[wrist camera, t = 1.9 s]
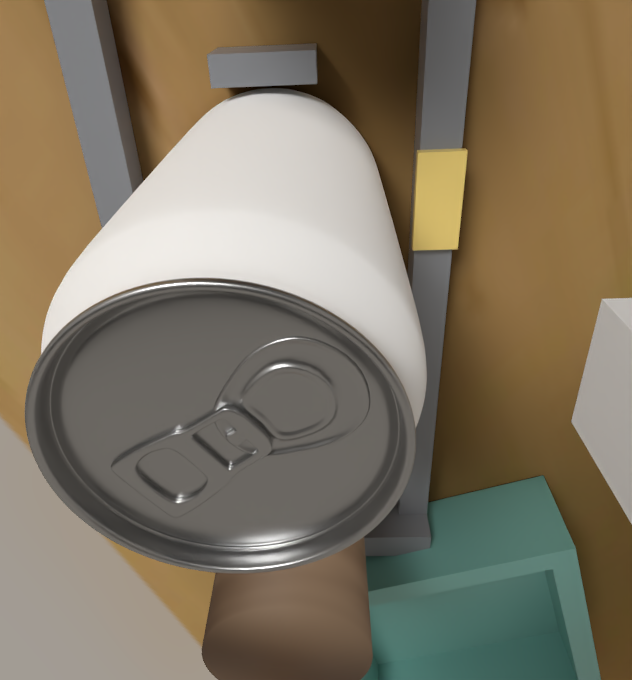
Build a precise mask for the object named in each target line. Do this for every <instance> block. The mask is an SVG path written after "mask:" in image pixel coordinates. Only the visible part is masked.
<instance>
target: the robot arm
mask: <svg viewBox="0 0 632 680" xmlns="http://www.w3.org/2000/svg"><path fill="white" fill-rule="evenodd" d="M571 422H572V424H573V426H574V427H575V429H576V431H577V432H578V434H579V436H580V437H581V439H582V441H583V443H584V444H585V446H586V448H587V449H588V451H589V453H590V454H591V456H592V458H593V460H594V461H595V463H596V465H597V466H598V468H599V470H600V471H601V473H602V475H603V476H604V478H605V480H606V482H607V483H608V485H609V487H610V488H611V490H612V492H613V493H614V495H615V497H616V499H617V500H618V502H619V504H620V505H621V507H622V509H623V510H624V512H625V514H626V516H627V517H628V519H629V521H630V522H631V524H632V298H615V299H602V301H601V305H600V309H599V313H598V317H597V321H596V325H595V329H594V333H593V337H592V341H591V345H590V349H589V353H588V357H587V361H586V365H585V369H584V373H583V377H582V381H581V385H580V389H579V393H578V397H577V401H576V405H575V409H574V413H573V417H572V421H571Z"/></svg>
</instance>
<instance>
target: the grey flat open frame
mask: <svg viewBox="0 0 632 680" xmlns="http://www.w3.org/2000/svg"><path fill="white" fill-rule="evenodd" d="M44 1H45V5H46V9H47V13H48V17H49V21H50V25H51V29H52V33H53V37H54V41H55V45H56V49H57V53H58V57H59V61H60V64H61V68H62V72H63V76H64V80H65V84H66V88H67V92H68V96H69V100H70V104H71V108H72V112H73V116H74V120H75V124H76V127H77V131H78V135H79V139H80V143H81V147H82V151H83V155H84V159H85V163H86V167H87V171H88V175H89V179H90V183H91V187H92V191H93V194H94V198H95V202H96V206H97V210H98V214H99V218H100V222H101V226H102V228H103V227H104V226H105V225H106V224H107V222H108V221H109V220H110V219H111V218H112V217H113V216H114V214H115V213H116V212H117V211H118V210H119V209H120V208H121V206H122V205H123V204H124V203H125V202H126V201H127V200H128V198H129V197H130V196H131V195H132V194H133V193H134V192H135V190H136V189H137V188H138V187H139V186H140V185H141V184H142V183H143V177H142V172H141V167H140V163H139V158H138V153H137V148H136V143H135V138H134V133H133V128H132V123H131V118H130V113H129V108H128V104H127V99H126V94H125V89H124V84H123V79H122V74H121V69H120V64H119V59H118V54H117V49H116V44H115V40H114V35H113V30H112V25H111V20H110V15H109V10H108V5H107V0H44ZM475 8H476V0H422V6H421V26H420V45H419V64H418V83H417V102H416V122H415V141H414V160H413V179H412V198H411V218H410V237H409V256H408V275H407V276H408V279H409V283H410V287H411V290H412V294H413V298H414V302H415V306H416V310H417V314H418V318H419V322H420V327H421V331H422V336H423V341H424V346H425V354H426V366H427V384H426V393H425V399H424V404H423V408H422V412H421V415H420V418H419V421H418V424H417V426H416V452H415V459H414V464H413V468H412V472H411V475H410V478H409V481H408V483H407V485H406V487H405V490H404V492H403V493H402V495H401V497H400V499H399V500H398V502H397V503H396V505H395V506H394V507H393V509H392V510H391V511H390V513H389V514H388V515H387V516H386V517H385V518H384V519H383V520H382V521H381V522H380V523H379V524H378V525H377V526H376V527H375V528H374V529H373V530H372V531H370V532H369V533H368V534H367V535H365V536H364V541H365V555H366V556H397V555H401V554H406V553H411V552H415V551H420V550H424V549H429V548H430V544H431V533H430V528H429V523H428V517H427V507H428V497H429V486H430V476H431V465H432V455H433V445H434V434H435V424H436V413H437V403H438V393H439V382H440V372H441V361H442V351H443V341H444V330H445V320H446V309H447V299H448V289H449V278H450V268H451V258H452V249H458V242H459V232H460V222H461V212H462V202H463V192H464V183H465V173H466V163H467V153H468V151H467V149H466V148H462V143H463V133H464V122H465V112H466V102H467V91H468V81H469V70H470V60H471V50H472V39H473V29H474V18H475ZM207 58H208V66H209V74H210V82H211V88H231V87H255V86H280V85H305V84H317V77H318V70H317V43H313V44H290V45H266V46H243V47H220V48H217V49H215V50H213V51H212V52H210V53H209V54H207Z"/></svg>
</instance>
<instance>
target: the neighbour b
mask: <svg viewBox="0 0 632 680" xmlns="http://www.w3.org/2000/svg"><path fill="white" fill-rule="evenodd" d="M202 657H203V661H204V663H205V665H206V667H207V668H208V670H209V671H210V672H211V673H212V674H213V675H214V676H215V677H216V678H217V679H218V680H361V679H362V678H363V677H364V676H365V675H366V673H367V672H368V670H369V669H370V667H371V664H372V659H373V651H372V637H371V624H370V610H369V596H368V582H367V569H366V555H365V541H364V537H363V538H361V539H360V540H358V541H357V542H355V543H354V544H352V545H350V546H349V547H347V548H345V549H343V550H341V551H339V552H337V553H335V554H333V555H331V556H329V557H326V558H324V559H321V560H318V561H315V562H312V563H309V564H306V565H302V566H298V567H294V568H290V569H285V570H279V571H272V572H263V573H247V574H234V573H216V574H215V580H214V585H213V591H212V596H211V602H210V607H209V613H208V618H207V624H206V629H205V635H204V640H203V646H202Z"/></svg>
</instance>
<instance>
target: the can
mask: <svg viewBox="0 0 632 680" xmlns="http://www.w3.org/2000/svg"><path fill="white" fill-rule="evenodd" d="M426 384H427V366H426V354H425V346H424V341H423V336H422V331H421V327H420V322H419V318H418V314H417V310H416V306H415V302H414V298H413V294H412V290H411V287H410V283H409V279H408V276H407V272H406V268H405V265H404V261H403V257H402V254H401V250H400V246H399V243H398V239H397V235H396V232H395V228H394V224H393V221H392V217H391V214H390V210H389V207H388V203H387V199H386V196H385V192H384V189H383V186H382V182H381V179H380V175H379V172H378V169H377V165H376V163H375V160H374V157H373V155H372V152H371V150H370V148H369V147H368V145H367V143H366V142H365V140H364V139H363V137H362V136H361V134H360V133H359V132H358V131H357V129H356V128H355V127H354V126H353V125H352V124H351V123H350V122H349V121H348V120H347V119H346V118H345V117H344V116H343V115H342V114H341V113H340V112H339V111H337V110H336V109H335V108H333V107H332V106H331V105H329V104H328V103H326V102H324V101H323V100H321V99H319V98H317V97H315V96H312V95H310V94H307V93H304V92H300V91H296V90H291V89H284V88H263V89H256V90H251V91H247V92H243V93H240V94H238V95H235V96H233V97H231V98H229V99H227V100H225V101H223V102H221V103H220V104H218V105H217V106H215V107H214V108H212V109H211V110H210V111H209V112H207V113H206V114H205V115H204V116H203V117H202V118H201V119H200V120H199V121H198V122H197V123H196V124H195V125H194V126H193V127H192V128H191V129H190V130H189V131H188V132H187V134H186V135H185V136H184V137H183V138H182V139H181V140H180V141H179V142H178V143H177V145H176V146H175V147H174V148H173V149H172V150H171V151H170V152H169V153H168V155H167V156H166V157H165V158H164V159H163V160H162V161H161V162H160V163H159V165H158V166H157V167H156V168H155V169H154V170H153V171H152V172H151V174H150V175H149V176H148V177H147V178H146V179H145V180H144V181H143V183H142V184H141V185H140V186H139V187H138V188H137V189H136V190H135V192H134V193H133V194H132V195H131V196H130V197H129V198H128V200H127V201H126V202H125V203H124V204H123V205H122V206H121V208H120V209H119V210H118V211H117V212H116V213H115V214H114V216H113V217H112V218H111V219H110V220H109V221H108V222H107V224H106V225H105V226H104V227H103V228H102V229H101V231H100V232H99V233H98V234H97V235H96V236H95V238H94V239H93V240H92V241H91V242H90V243H89V245H88V246H87V247H86V248H85V250H84V251H83V252H82V253H81V255H80V256H79V257H78V259H77V260H76V261H75V262H74V264H73V265H72V266H71V268H70V269H69V271H68V272H67V274H66V275H65V277H64V279H63V281H62V282H61V284H60V286H59V288H58V289H57V291H56V293H55V295H54V297H53V299H52V302H51V304H50V307H49V310H48V313H47V316H46V320H45V325H44V330H43V337H42V347H41V356H40V358H39V359H38V361H37V363H36V365H35V367H34V370H33V372H32V375H31V378H30V381H29V385H28V389H27V394H26V401H25V423H26V431H27V436H28V441H29V444H30V448H31V450H32V453H33V456H34V458H35V461H36V463H37V465H38V467H39V469H40V471H41V472H42V474H43V476H44V478H45V479H46V481H47V482H48V484H49V485H50V487H51V488H52V489H53V491H54V492H55V493H56V494H57V496H58V497H59V498H60V499H61V500H62V501H63V502H64V503H65V504H66V505H67V507H68V508H69V509H70V510H71V511H73V512H74V513H75V514H76V515H77V516H78V517H79V518H81V519H82V520H83V521H84V522H85V523H87V524H88V525H89V526H91V527H92V528H93V529H95V530H96V531H98V532H99V533H101V534H102V535H104V536H105V537H107V538H109V539H110V540H112V541H114V542H116V543H118V544H120V545H121V546H123V547H125V548H128V549H130V550H132V551H134V552H136V553H139V554H141V555H144V556H146V557H149V558H152V559H155V560H158V561H161V562H164V563H167V564H171V565H175V566H179V567H183V568H188V569H194V570H199V571H207V572H216V573H234V574H247V573H263V572H272V571H279V570H285V569H290V568H294V567H298V566H302V565H306V564H309V563H312V562H315V561H318V560H321V559H324V558H326V557H329V556H331V555H333V554H335V553H337V552H339V551H341V550H343V549H345V548H347V547H349V546H350V545H352V544H354V543H355V542H357V541H358V540H360V539H361V538H363V537H364V536H365V535H367V534H368V533H369V532H370V531H372V530H373V529H374V528H375V527H376V526H377V525H378V524H379V523H380V522H381V521H382V520H383V519H384V518H385V517H386V516H387V515H388V514H389V513H390V511H391V510H392V509H393V507H394V506H395V505H396V503H397V502H398V500H399V499H400V497H401V495H402V493H403V492H404V490H405V487H406V485H407V483H408V481H409V478H410V475H411V472H412V468H413V464H414V459H415V452H416V426H417V424H418V421H419V418H420V415H421V412H422V408H423V404H424V399H425V393H426Z"/></svg>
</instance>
